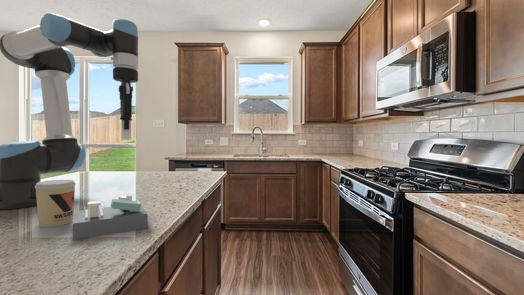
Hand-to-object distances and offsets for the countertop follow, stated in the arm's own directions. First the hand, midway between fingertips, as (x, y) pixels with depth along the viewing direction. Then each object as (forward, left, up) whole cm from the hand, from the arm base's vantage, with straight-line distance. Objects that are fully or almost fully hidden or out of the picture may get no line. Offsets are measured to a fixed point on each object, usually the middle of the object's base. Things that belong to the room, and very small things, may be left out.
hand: (126, 139), depth 90 cm
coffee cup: (+3, -19, -25) cm, 31 cm away
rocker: (+18, -2, -18) cm, 26 cm away
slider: (+18, -10, -20) cm, 29 cm away
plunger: (+12, -1, -20) cm, 23 cm away
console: (+15, -6, -24) cm, 29 cm away
